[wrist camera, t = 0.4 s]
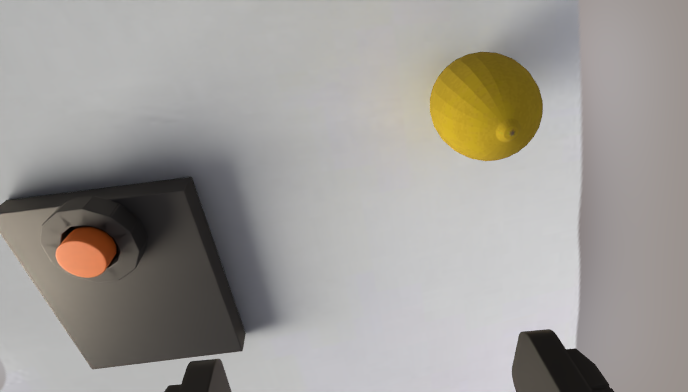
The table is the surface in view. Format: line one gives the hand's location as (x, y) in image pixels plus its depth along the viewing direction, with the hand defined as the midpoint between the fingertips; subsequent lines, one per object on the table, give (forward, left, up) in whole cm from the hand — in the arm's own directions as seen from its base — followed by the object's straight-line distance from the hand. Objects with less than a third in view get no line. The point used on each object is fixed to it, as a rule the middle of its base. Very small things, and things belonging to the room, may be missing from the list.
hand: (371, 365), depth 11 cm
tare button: (+5, -17, -15) cm, 23 cm away
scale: (+11, -17, -18) cm, 27 cm away
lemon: (-1, +8, -19) cm, 20 cm away
